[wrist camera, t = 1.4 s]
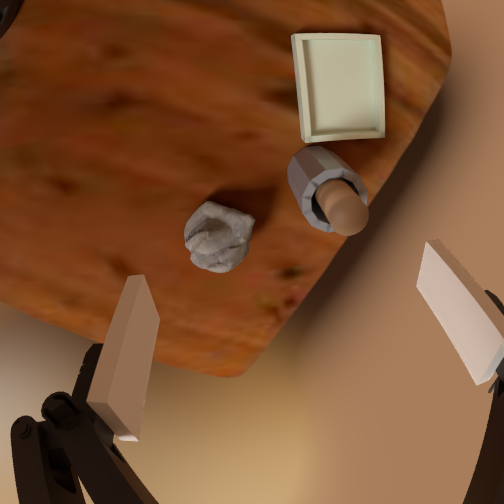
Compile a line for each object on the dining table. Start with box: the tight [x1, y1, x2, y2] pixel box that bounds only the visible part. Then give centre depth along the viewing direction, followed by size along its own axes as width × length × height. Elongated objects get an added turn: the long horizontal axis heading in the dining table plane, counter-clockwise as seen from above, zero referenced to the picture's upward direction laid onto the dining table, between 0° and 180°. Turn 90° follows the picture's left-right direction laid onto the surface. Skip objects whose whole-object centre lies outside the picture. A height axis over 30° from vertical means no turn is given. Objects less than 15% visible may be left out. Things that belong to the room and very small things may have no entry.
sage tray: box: [291, 33, 385, 143], centre depth 36 cm, size 14×11×2 cm
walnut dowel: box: [313, 177, 369, 236], centre depth 37 cm, size 5×4×14 cm
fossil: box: [184, 201, 256, 273], centre depth 44 cm, size 11×9×8 cm
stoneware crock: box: [287, 145, 367, 232], centre depth 39 cm, size 8×8×10 cm
